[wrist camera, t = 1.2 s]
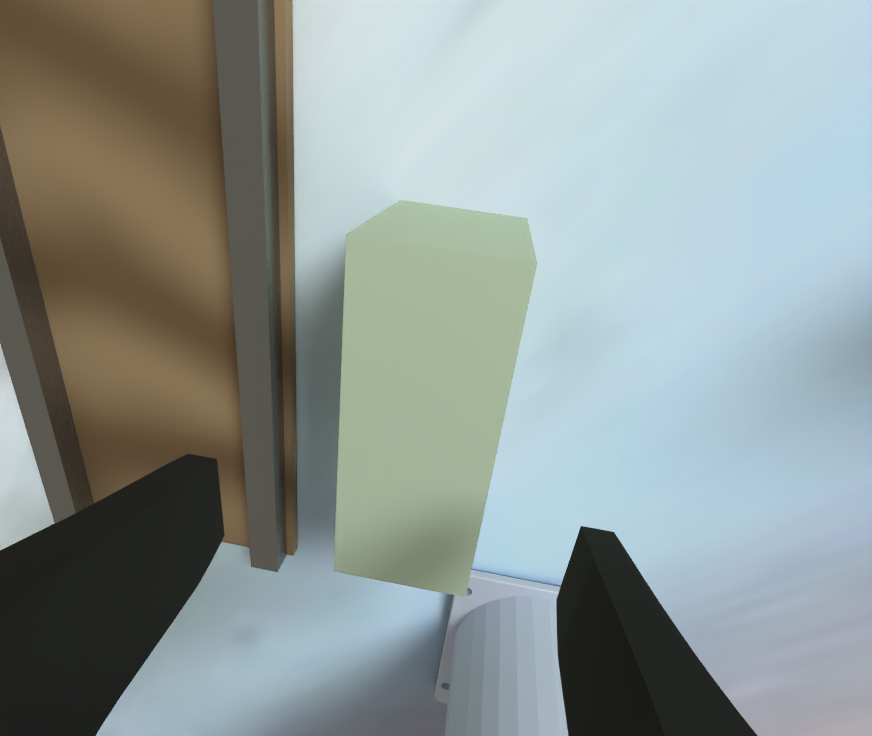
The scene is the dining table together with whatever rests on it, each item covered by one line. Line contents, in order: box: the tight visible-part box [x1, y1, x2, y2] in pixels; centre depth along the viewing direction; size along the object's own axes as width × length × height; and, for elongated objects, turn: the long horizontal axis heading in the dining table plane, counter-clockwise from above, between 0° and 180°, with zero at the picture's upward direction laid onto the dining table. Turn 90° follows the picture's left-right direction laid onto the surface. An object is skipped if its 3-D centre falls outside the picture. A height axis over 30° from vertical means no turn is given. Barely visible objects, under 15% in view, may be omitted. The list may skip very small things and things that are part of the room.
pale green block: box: [334, 200, 537, 597], centre depth 15 cm, size 10×4×6 cm, turn 173°
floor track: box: [0, 0, 297, 572], centre depth 18 cm, size 22×11×2 cm, turn 173°
